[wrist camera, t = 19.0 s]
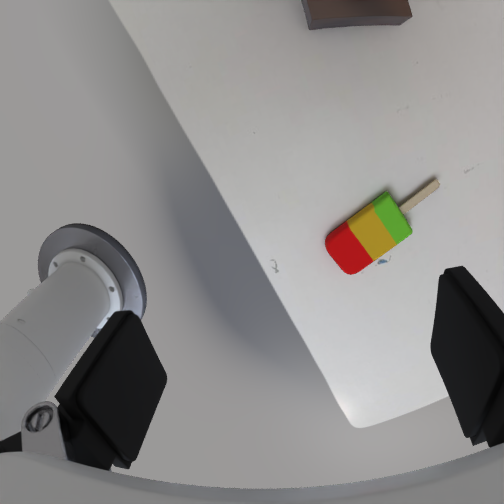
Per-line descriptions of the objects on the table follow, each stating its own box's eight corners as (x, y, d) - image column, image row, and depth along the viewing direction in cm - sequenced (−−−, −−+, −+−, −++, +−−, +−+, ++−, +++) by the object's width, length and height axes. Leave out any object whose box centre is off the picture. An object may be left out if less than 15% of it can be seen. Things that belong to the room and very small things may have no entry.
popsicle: (319, 238, 36) (321, 245, 34) (423, 160, 31) (430, 163, 29) (346, 272, 37) (349, 280, 36) (445, 198, 32) (452, 203, 30)
